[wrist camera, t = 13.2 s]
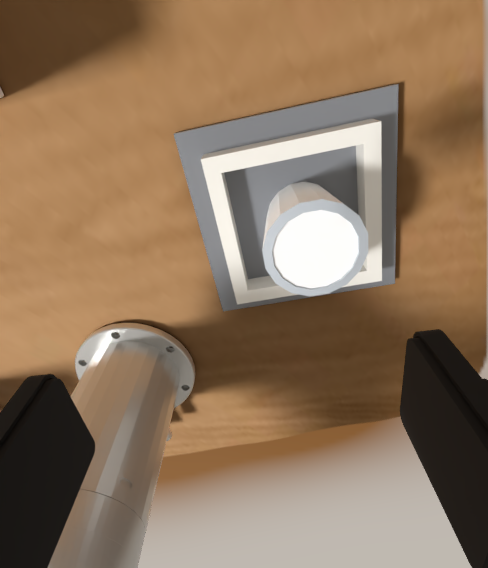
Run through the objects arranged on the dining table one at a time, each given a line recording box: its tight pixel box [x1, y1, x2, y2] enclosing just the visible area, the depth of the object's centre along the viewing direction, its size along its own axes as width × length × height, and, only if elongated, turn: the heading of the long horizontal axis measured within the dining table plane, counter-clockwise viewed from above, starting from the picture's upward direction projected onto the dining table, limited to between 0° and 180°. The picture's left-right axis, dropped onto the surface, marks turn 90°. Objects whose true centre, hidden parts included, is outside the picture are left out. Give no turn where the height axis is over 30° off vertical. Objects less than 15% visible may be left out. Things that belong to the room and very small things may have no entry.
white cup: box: [262, 181, 368, 296], centre depth 25 cm, size 7×7×7 cm
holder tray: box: [174, 84, 398, 311], centre depth 28 cm, size 16×16×3 cm
